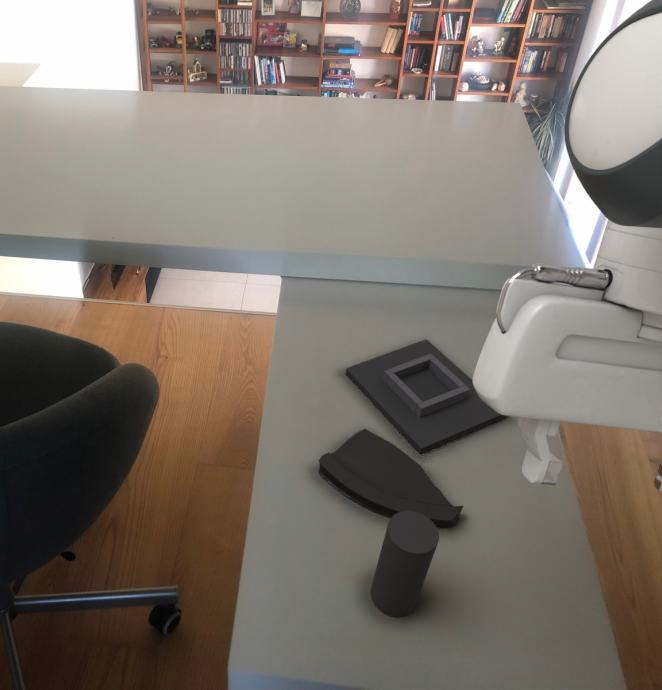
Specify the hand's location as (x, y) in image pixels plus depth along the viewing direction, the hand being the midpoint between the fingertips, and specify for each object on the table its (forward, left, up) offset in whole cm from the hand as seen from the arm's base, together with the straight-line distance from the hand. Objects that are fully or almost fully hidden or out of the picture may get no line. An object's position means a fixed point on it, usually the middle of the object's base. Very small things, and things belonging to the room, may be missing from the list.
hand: (605, 487), depth 45 cm
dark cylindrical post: (+9, +6, -21) cm, 23 cm away
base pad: (+25, -15, -21) cm, 36 cm away
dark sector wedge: (+18, -2, -21) cm, 28 cm away
